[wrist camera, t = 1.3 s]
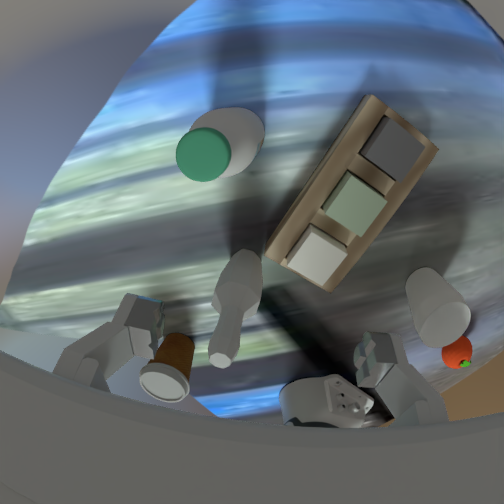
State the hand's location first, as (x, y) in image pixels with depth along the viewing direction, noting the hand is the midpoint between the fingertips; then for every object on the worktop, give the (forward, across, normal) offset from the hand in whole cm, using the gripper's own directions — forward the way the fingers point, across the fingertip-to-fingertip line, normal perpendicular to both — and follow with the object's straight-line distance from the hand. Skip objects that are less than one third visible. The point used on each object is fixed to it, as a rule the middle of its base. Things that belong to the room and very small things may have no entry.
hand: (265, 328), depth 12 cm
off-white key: (+30, +9, -16) cm, 35 cm away
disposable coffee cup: (+30, -11, -44) cm, 54 cm away
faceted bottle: (+33, 0, -22) cm, 40 cm away
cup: (+31, +30, -20) cm, 48 cm away
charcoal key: (+33, +15, +1) cm, 36 cm away
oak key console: (+34, +12, -8) cm, 37 cm away
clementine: (+28, +45, -31) cm, 62 cm away
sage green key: (+31, +12, -7) cm, 35 cm away
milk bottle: (+36, -5, -3) cm, 36 cm away
